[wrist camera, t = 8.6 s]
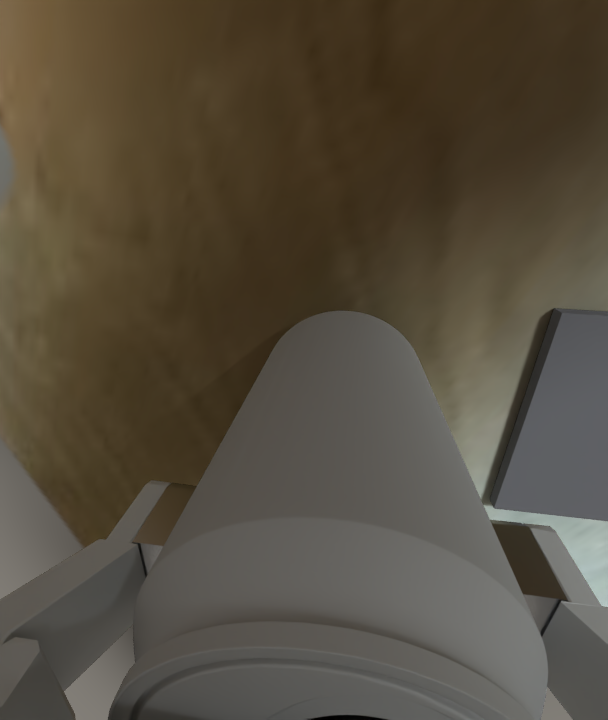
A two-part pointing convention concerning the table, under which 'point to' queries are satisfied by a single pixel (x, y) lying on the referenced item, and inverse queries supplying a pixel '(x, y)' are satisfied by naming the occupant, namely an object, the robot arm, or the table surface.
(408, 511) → the beverage can
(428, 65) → the table surface
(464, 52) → the table surface
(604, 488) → the mat
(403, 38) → the table surface
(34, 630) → the robot arm
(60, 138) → the table surface
